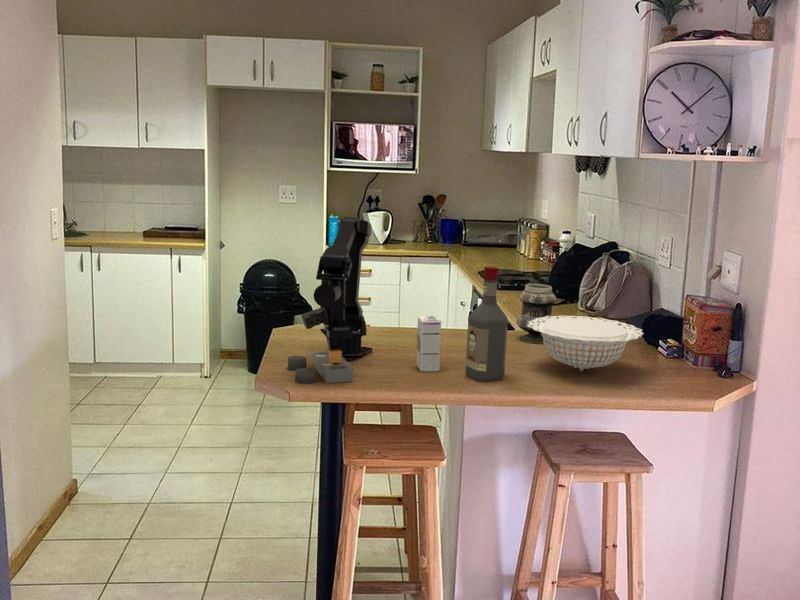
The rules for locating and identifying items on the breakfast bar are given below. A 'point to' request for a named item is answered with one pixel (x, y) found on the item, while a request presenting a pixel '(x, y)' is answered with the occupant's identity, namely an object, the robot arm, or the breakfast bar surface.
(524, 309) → the apothecary jar
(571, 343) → the colander
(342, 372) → the grey flat block
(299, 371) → the coil
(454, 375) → the breakfast bar surface
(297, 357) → the coil
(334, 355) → the orange upright box
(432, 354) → the syrup box
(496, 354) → the liquor
